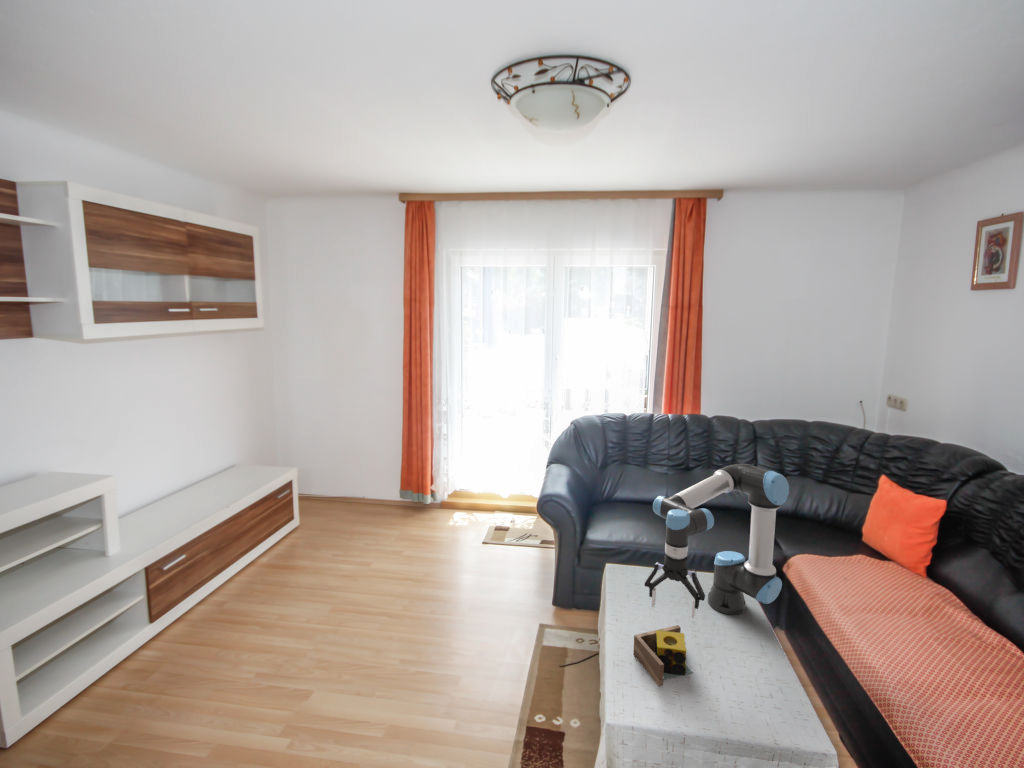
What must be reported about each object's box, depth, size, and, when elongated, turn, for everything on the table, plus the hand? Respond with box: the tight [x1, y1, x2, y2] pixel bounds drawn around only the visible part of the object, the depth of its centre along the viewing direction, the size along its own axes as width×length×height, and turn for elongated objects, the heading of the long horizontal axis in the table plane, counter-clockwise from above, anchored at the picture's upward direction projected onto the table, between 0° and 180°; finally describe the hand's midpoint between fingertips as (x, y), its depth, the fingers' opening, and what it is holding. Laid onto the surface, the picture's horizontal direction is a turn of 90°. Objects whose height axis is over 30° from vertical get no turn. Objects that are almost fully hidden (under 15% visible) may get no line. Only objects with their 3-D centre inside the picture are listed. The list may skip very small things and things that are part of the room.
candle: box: [655, 629, 687, 677], centre depth 182 cm, size 10×10×10 cm
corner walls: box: [632, 625, 682, 687], centre depth 183 cm, size 19×16×8 cm
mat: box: [663, 664, 694, 680], centre depth 183 cm, size 11×11×1 cm
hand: (673, 610), depth 179 cm, fingers open, 13 cm apart
